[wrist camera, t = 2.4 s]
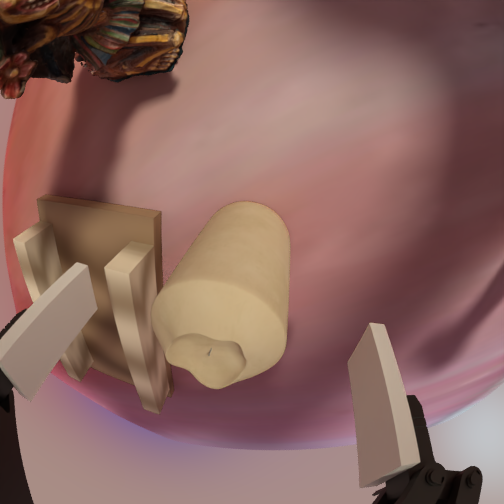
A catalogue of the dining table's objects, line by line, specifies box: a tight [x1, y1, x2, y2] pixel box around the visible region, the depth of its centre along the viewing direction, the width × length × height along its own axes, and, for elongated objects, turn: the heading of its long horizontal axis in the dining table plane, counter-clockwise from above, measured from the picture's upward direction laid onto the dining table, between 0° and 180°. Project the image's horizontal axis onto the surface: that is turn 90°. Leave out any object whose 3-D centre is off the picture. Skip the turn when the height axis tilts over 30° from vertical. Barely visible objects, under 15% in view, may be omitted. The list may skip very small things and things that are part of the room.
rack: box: [13, 195, 174, 415], centre depth 21 cm, size 22×12×5 cm, turn 172°
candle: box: [151, 201, 290, 389], centre depth 13 cm, size 6×6×10 cm
